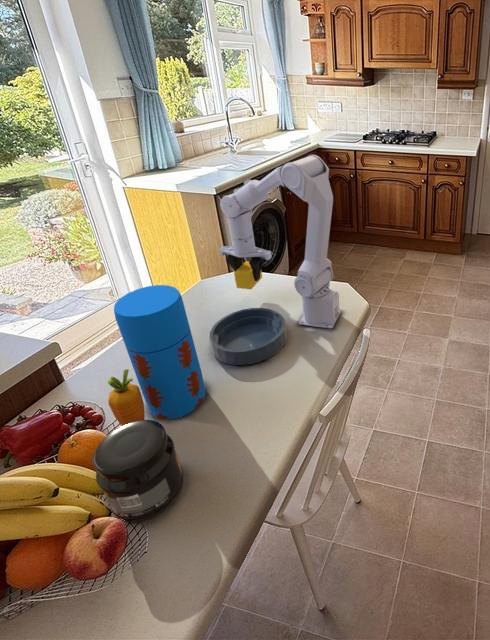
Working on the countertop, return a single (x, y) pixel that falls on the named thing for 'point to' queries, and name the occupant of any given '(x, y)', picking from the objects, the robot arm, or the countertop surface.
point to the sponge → (245, 277)
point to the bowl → (248, 336)
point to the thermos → (161, 350)
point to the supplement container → (138, 470)
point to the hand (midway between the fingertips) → (249, 278)
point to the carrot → (126, 400)
